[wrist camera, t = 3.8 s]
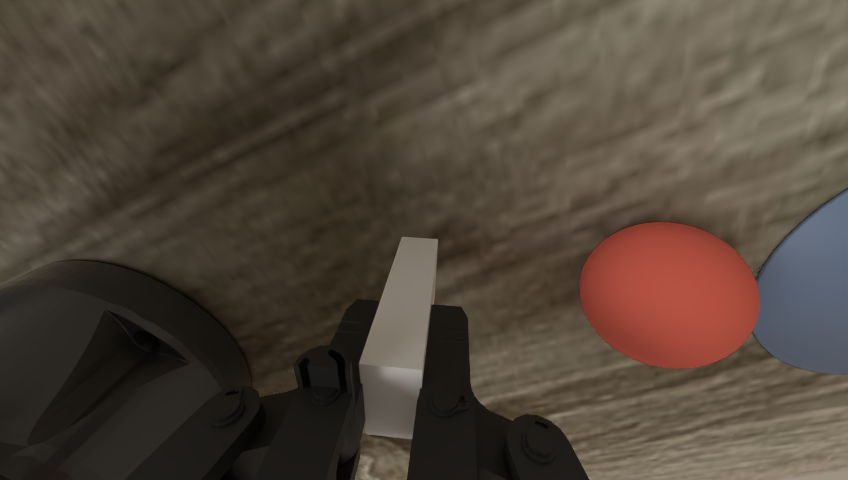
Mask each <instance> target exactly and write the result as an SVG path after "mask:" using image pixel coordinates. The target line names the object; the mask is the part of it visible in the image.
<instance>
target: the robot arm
mask: <svg viewBox="0 0 848 480" xmlns="http://www.w3.org/2000/svg"><path fill="white" fill-rule="evenodd" d="M437 250H438V239H428V238H414V237H402V238H401V241H400V244H399V247H398V250H397V253H396V256H395V259H394V262H393V265H392V268H391V270H390V273H389V276H388V279H387V282H386V285H385V288H384V291H383V294H382V297H381V300H380V301H373V300H361V299H357V300H356V301H355V302H354V303H353V304H352V305H350V306H349V307H348V308H347V309H346V312H345V314H344V316H343V318H342V321H341V322H340V324H339V327H338V329H337V332H336V333H335V335H334V337H333V339H332V341H331V344H330V345H327V346H319V347H316V348H313V349H310V350H308V351H307V352H305V353H304V354H302V355H301V356H300V357H299V358H298V359H297V360H296V362H295V363H294V364H293V366H294V370H295V374H296V379H297V383H298V387H299V388H296V389H294V390H292V391H288V392H285V393H279V394H274V395H269V396H264V397H260V396H259V393H258V392H257V391H256V390H255V389H253V388H252V385H251V376H250V372H249V369H248V366H247V363H246V361H245V359H244V357H243V355H242V353H241V351H240V350H239V348H238V347H237V345H236V344H235V342H234V341H233V340H232V338H231V337H230V336H229V335H228V333H227V332H226V331H225V330H224V329H223V328H222V327H221V326H220V325H219V324H218V323H217V322H216V321H215V320H214V319H213V318H212V317H211V316H210V315H209V314H207V313H206V312H205V311H204V310H203V309H201V308H200V307H199V306H197V305H196V304H195V303H193V302H192V301H190V300H189V299H188V298H186V297H185V296H183V295H181V294H180V293H178V292H177V291H175V290H173V289H171V288H170V287H168V286H166V285H164V284H162V283H160V282H158V281H156V280H154V279H152V278H149V277H147V276H145V275H142V274H140V273H137V272H134V271H131V270H128V269H125V268H122V267H118V266H114V265H110V264H105V263H99V262H92V261H78V260H75V261H61V262H55V263H51V264H48V265H45V266H42V267H40V268H38V269H36V270H34V271H32V272H29V273H27V274H25V275H23V276H21V277H19V278H17V279H15V280H13V281H11V282H8V283H6V284H4V285H2V286H0V480H354V479H355V475H356V471H357V467H358V463H359V459H360V439H361V435H362V431H363V428H364V425H365V434H369V435H378V436H387V437H396V438H405V439H412V445H411V453H410V461H409V468H408V476H407V480H589V478H588V476H587V475H586V473H585V471H584V469H583V467H582V465H581V463H580V461H579V459H578V458H577V456H576V454H575V452H574V450H573V448H572V446H571V444H570V442H569V441H568V439H567V438H566V436H565V435H564V434H563V432H562V431H561V430H560V428H558V427H557V426H556V425H555V424H553V423H552V422H551V421H549V420H547V419H545V418H543V417H540V416H538V415H523V416H520V417H517V418H515V419H514V421H511V420H509V419H507V418H504V417H502V416H500V415H497V414H495V413H493V412H491V411H490V410H488V409H486V408H485V407H484V406H483V405H482V404H480V403H479V401H478V400H477V399H476V397H475V396H474V394H473V392H472V389H471V384H470V363H469V343H468V342H469V338H468V318H467V316H466V314H465V313H464V311H463V309H462V308H461V307H456V306H444V305H434V298H435V285H436V268H437Z"/></svg>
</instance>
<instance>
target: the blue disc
mask: <svg viewBox="0 0 848 480" xmlns="http://www.w3.org/2000/svg"><path fill="white" fill-rule="evenodd" d="M756 283H757V286H758V290H759V296H760V310H759V315H758V319H757V322H756V325H755V327H754V329H753V331H752V332H753V334H754V336H755V338H756V339H757V341H758V342H759V343H760V344H761V345H762V347H763V348H764V349H766V350H767V351H768V352H769V353H770V354H772V355H773V356H774V357H775V358H777V359H779V360H781V361H783V362H784V363H786V364H789V365H791V366H794V367H797V368H800V369H804V370H808V371H812V372H818V373H826V374H843V375H848V189H846V190H844V191H843V192H841V193H840V194H838V195H837V196H835V197H834V198H832V199H831V200H829V201H828V202H826V203H825V204H823V205H822V206H821V207H819V208H818V209H817V210H816V211H814V212H813V213H812V214H811V215H809V216H808V217H807V218H806V219H804V220H803V221H802V222H801V223H800V224H799V225H798V226H797V227H796V228H795V229H794V230H793V231H791V232H790V233H789V234H788V235H787V236H786V237H785V239H784V240H783V241H782V242H781V243H780V244H779V245H778V246H777V248H776V249H775V250H774V251H773V252H772V254H771V255H770V257H769V258H768V260H767V261H766V262H765V264H764V265H763V267H762V269H761V271H760V272H759V274H758V276H757V278H756Z"/></svg>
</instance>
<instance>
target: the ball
mask: <svg viewBox="0 0 848 480" xmlns="http://www.w3.org/2000/svg"><path fill="white" fill-rule="evenodd" d="M579 291H580V299H581V304H582V307H583V310H584V312H585V315H586V317H587V319H588V321H589V322H590V324H591V325H592V327H593V328H594V330H595V331H596V332H597V333H598V334H599V336H600V337H601V338H602V339H603V340H604V341H605V342H607V343H608V344H609V345H610V346H612V347H613V348H614V349H616V350H617V351H619V352H620V353H622V354H624V355H626V356H628V357H629V358H631V359H634V360H636V361H639V362H642V363H645V364H648V365H652V366H657V367H662V368H672V369H686V368H695V367H700V366H705V365H708V364H711V363H714V362H716V361H719V360H721V359H723V358H725V357H727V356H728V355H730V354H731V353H733V352H734V351H736V350H737V349H738V348H739V347H740V346H741V345H742V344H743V343H744V342H745V341H746V340H747V339H748V337H749V336H750V334H751V333H752V331H753V329H754V327H755V325H756V322H757V319H758V315H759V310H760V296H759V290H758V286H757V283H756V280H755V277H754V275H753V273H752V271H751V270H750V268H749V266H748V265H747V263H746V262H745V261H744V259H743V258H742V257H741V256H740V255H739V254H738V253H737V252H736V251H735V250H734V249H733V248H732V247H731V246H729V245H728V244H727V243H725V242H724V241H723V240H721V239H719V238H718V237H716V236H714V235H712V234H710V233H708V232H706V231H704V230H701V229H698V228H695V227H692V226H688V225H684V224H678V223H671V222H651V223H643V224H638V225H634V226H631V227H627V228H625V229H622V230H620V231H618V232H616V233H614V234H612V235H610V236H609V237H607V238H606V239H605V240H603V241H602V242H601V243H600V244H599V245H598V246H597V247H596V248H595V249H594V250H593V251H592V253H591V254H590V255H589V257H588V259H587V260H586V262H585V264H584V267H583V270H582V273H581V277H580V289H579Z"/></svg>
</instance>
